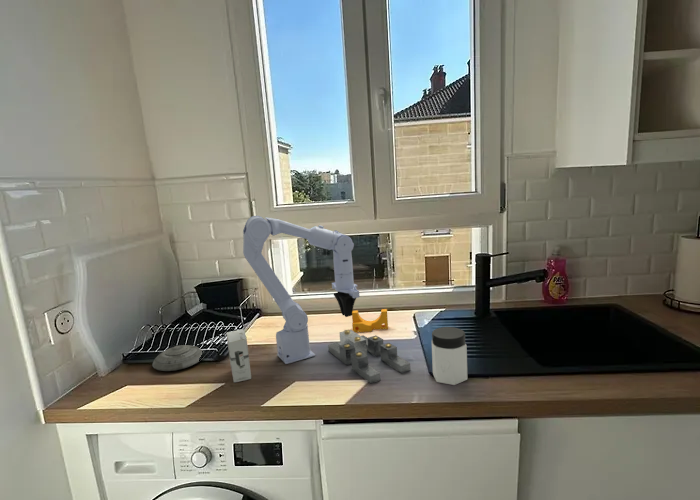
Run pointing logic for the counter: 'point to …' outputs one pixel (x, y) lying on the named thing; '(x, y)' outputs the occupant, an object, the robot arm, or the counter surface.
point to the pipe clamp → (369, 322)
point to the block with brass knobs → (353, 340)
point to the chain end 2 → (387, 356)
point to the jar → (449, 355)
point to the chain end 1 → (346, 350)
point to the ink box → (238, 355)
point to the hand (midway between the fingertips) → (347, 315)
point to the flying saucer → (177, 358)
